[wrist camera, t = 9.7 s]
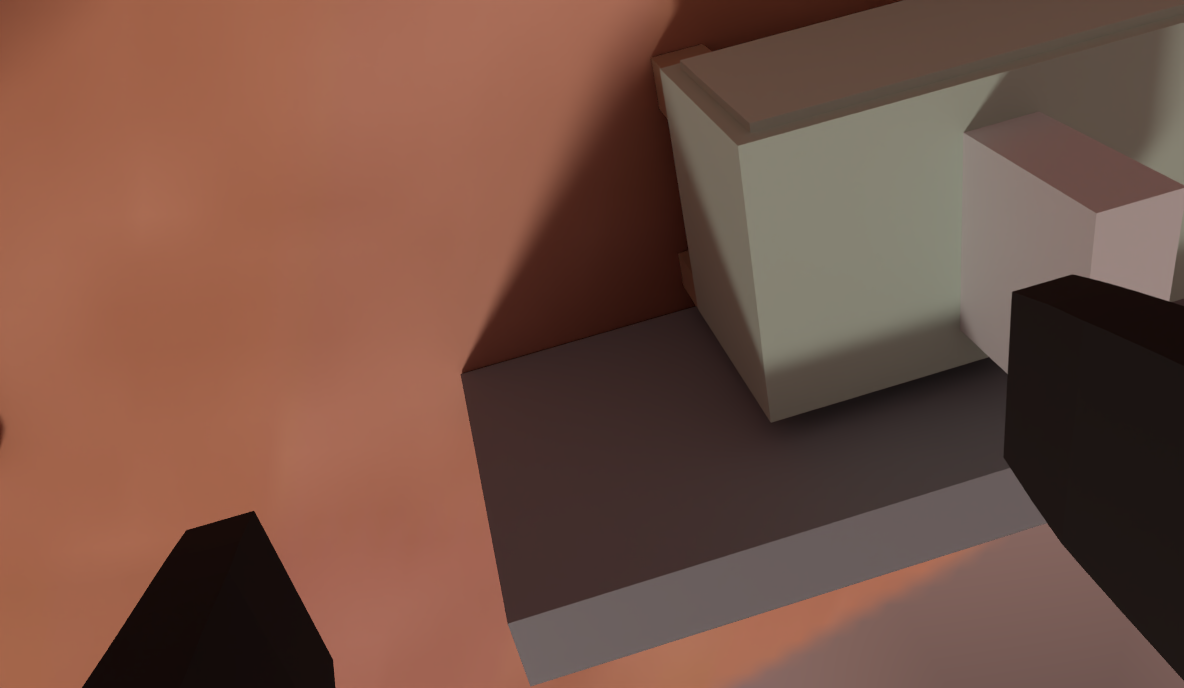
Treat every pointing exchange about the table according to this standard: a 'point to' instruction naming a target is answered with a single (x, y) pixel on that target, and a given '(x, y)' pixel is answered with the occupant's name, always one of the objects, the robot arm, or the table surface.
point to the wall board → (715, 488)
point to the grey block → (921, 181)
